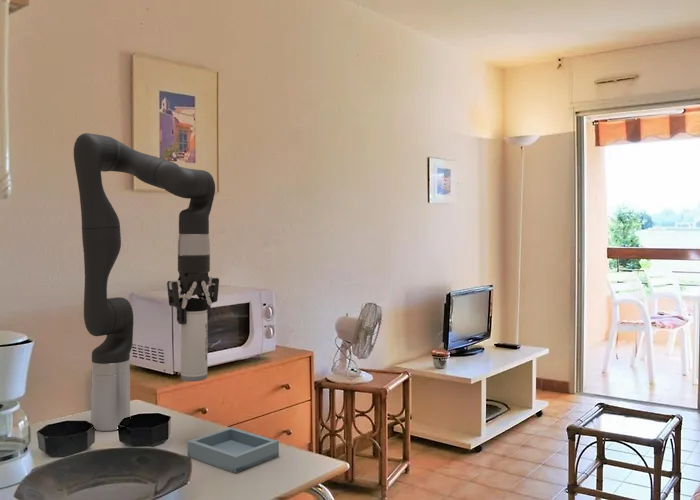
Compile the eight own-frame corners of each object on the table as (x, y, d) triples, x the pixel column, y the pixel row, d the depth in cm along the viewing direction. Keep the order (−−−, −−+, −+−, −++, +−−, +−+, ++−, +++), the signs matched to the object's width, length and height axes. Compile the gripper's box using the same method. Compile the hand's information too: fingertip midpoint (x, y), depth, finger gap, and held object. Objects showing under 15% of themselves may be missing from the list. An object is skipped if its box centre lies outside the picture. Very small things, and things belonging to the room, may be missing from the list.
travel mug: (174, 378, 158) (174, 295, 157) (199, 374, 162) (199, 293, 161) (187, 383, 153) (187, 298, 152) (212, 378, 157) (212, 296, 156)
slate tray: (187, 456, 148) (187, 441, 148) (231, 441, 158) (231, 427, 158) (235, 473, 138) (235, 457, 138) (278, 456, 148) (278, 441, 148)
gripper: (207, 251, 164) (207, 317, 165) (158, 253, 153) (159, 324, 154) (227, 252, 159) (227, 320, 160) (179, 254, 148) (179, 327, 149)
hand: (193, 322), depth 157 cm, fingers closed on travel mug, 6 cm apart
